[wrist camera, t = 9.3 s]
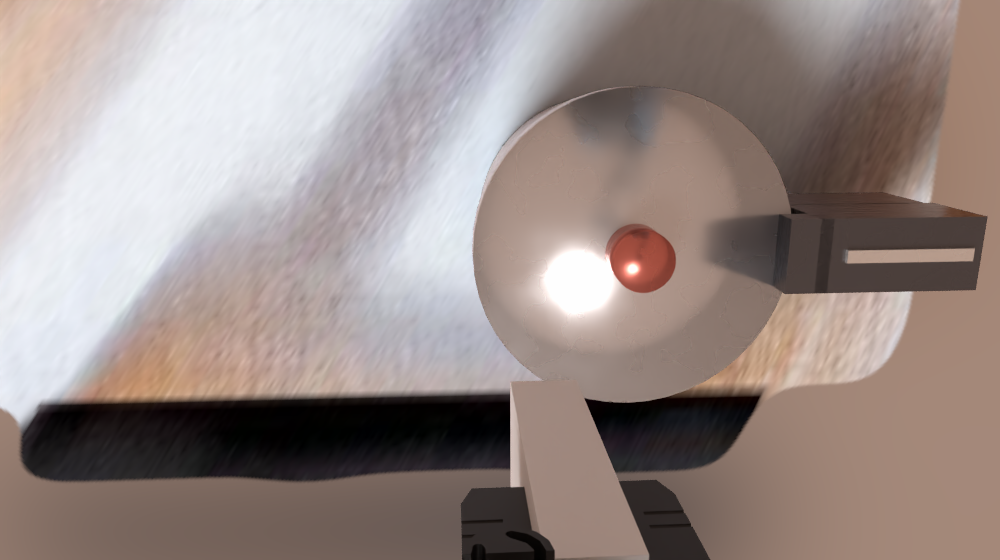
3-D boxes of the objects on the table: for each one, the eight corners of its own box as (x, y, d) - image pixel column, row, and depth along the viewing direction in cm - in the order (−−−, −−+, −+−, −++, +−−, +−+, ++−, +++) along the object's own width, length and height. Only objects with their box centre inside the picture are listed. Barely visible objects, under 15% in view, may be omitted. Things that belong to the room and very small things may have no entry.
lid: (469, 86, 36) (471, 87, 31) (950, 84, 37) (1018, 85, 33) (473, 386, 40) (476, 424, 35) (909, 374, 41) (964, 410, 37)
